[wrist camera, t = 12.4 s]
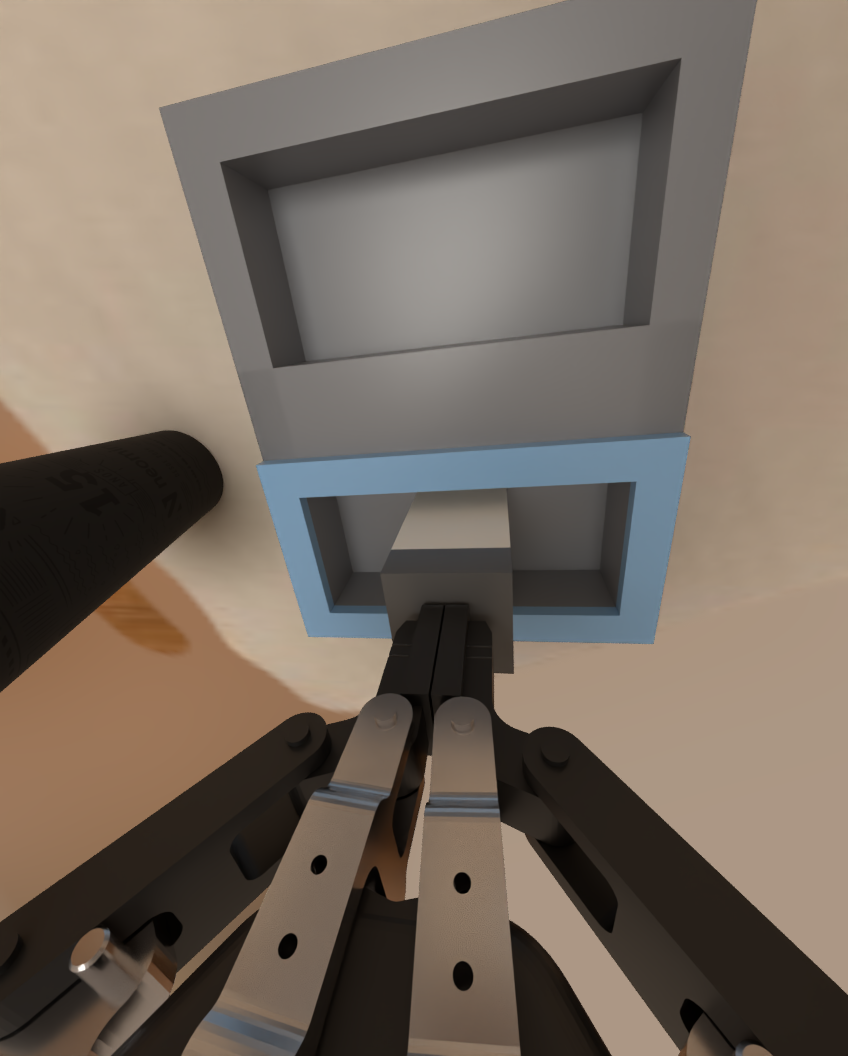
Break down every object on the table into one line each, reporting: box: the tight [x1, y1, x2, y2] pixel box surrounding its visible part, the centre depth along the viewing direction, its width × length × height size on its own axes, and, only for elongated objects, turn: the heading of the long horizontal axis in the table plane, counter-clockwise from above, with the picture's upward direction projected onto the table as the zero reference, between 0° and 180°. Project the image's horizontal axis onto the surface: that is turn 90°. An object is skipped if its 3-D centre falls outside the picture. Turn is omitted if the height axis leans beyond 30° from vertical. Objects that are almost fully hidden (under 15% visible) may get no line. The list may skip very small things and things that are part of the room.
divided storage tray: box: [159, 0, 757, 644], centre depth 16 cm, size 16×20×5 cm
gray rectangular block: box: [380, 488, 514, 674], centre depth 16 cm, size 4×4×8 cm
